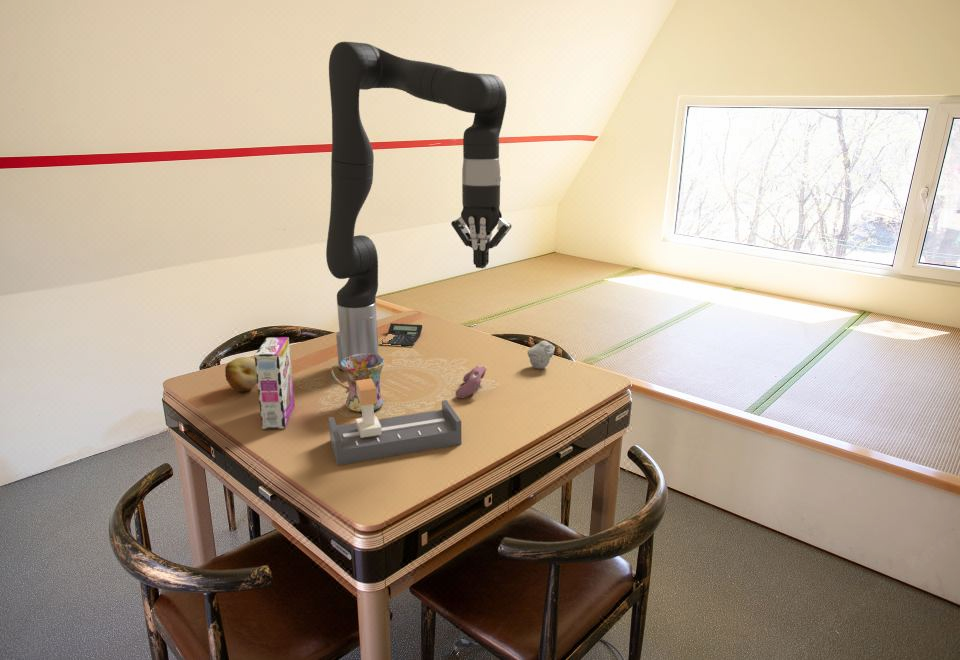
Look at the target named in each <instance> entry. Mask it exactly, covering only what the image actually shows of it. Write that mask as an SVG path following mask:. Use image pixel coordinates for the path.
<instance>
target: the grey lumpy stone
mask: <svg viewBox="0 0 960 660" xmlns="http://www.w3.org/2000/svg"><path fill="white" fill-rule="evenodd" d="M555 348H556V347H555V346H554V345H553V344H552V343H550V342H549V341H547V340H542V341H539V342H538V343H536V344H535V345H533V346H532V347H531V348H529V350H527V356H528V358H529V363H530V365H531V366H532V367H533V368H535V369H537V370H538V369H539V370H542V369H545V368H546V367H548V365H549V363H550V360H551V358H553V356H554V353H555V351H556V350H555Z"/></svg>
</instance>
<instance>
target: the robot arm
mask: <svg viewBox="0 0 960 660" xmlns="http://www.w3.org/2000/svg"><path fill="white" fill-rule="evenodd" d="M328 78H329V79H328V82H329V93H330V107H331V139H332V141H331V161H330V168H331V169H330V173H331V174H330V178H331V190H330V191H331V193H330V211H329V212H330V214H329V223H328V231H327V239H326V240H327V241H326V247H325V248H326V250H325V252H326V253H325V257H326V264H327V267H328V270H329V272H330V274H331V275H332V276H333V277H335V278H336V279H339V280H344V279H348V280H347V281H346V283H345V284H344V285H343V286H342V287H341V288H340V289H339V290H338V292H336V293H337V294H336V303H337V317H338V329H339V330H338V332H336V334H335V337H336V348H337V361H338V362H337V363H338V364H337V365H341V361H342V360H343V359H344V358H346V357H349V356H352V355H356V354H376V355H379V339H378V337H379V336H378V319H377V301H376V299H377V298H376V297H377V296H376V295H377V293H378V288H379V260H378V259H379V257H378V252H377V248H376V245H375V243H374V242H373V240H372V239H371V238H370V237H369V236H367V235H363V234H359V235H355V229H356V223H357V218H358V217H359V214H360V212H361V210H362V208H363V206H364V204H365V202H366V201H367V198H368V196H369V194H370V191H371V189H372V186H373V179H374V149H373V147H372V143H371V142H370V139H369V137H368V135H367V132H366V131H365V127H364V126H363V125H364V124H363V123H362V119H361V114H360V90H364V91H366V90H371V89H394V90H395V89H396V90H398V91H401V92H402V91H403V92H405V93H406V94H409V95H411V96H413V97H415V98H418V99H419V100H423V101H428V102H432V103H436V104H441V105H446V106H448V107H450V108H452V109H455V110H457V111H461V112H464V113H470V114H474V115H473V122H472V125H470V126H468V127H467V128H466V129H464V132H463V137H462V149H463V150H462V153H463V154H462V155H463V157H462V168H461V170H462V171H461V179H462V180H461V181H462V182H461V184H462V185H461V189H462V193H461V195H462V203H461V204H462V210H461V213H460V216H459V217H458V218H456V219H455V220H452V221H451V222H450V223H451V224H450V225H451V226H452V227H453V229H454V231H455V232H456V234H457V235H458V237H459V239H461V242H462V243H463V245H464V246H466V247H469V248H472V251H473V252H472V253H473V254H472V255H473V256H472V258H473V261H472V262H473V265H475V268H477V269H484V268H486V267H487V266H488V265H489V261H490V259H489V257H490V256H489V255H490V254H489V251H490V249H493V248H495V247H498V245H499V244H500V243H501V241H503V239H504V238H505V236H506V235H507V234H508V233H509V232H510V230H511V229H512V226H513V225H512V224H511V223H510V222H506V220H504V219H503V218H502V217H503V215H502V212H501V209H500V208H501V206H500V205H501V180H502V179H501V167H500V166H501V164H500V134H501V130H502V126H503V122H504V118H505V113H506V108H507V99H508V98H507V90H506V86H505V84H504V81H503V80H502V79H501V78H500V76H497V75H495V74H492V73H491V74H490V73H474V72H468V71H461V70H460V71H459V70H457V69H455V68H454V67H451V66H446V65H442V64H438V63H437V64H436V63H431V62H427V61H421V60H412V59H407V58H403V57H400V56H397V55H394V54H392V53H391V52H387V51H385V50H383V49H381V48H379V47H376V46H375V45H372V44H369V43H365V42H356V41H340V42H338V43H336V44H335V45H334V46H333V47H332V49H331V51H330V55H329V61H328ZM495 228H497V231H496V233H495V234H494V236H493V231H494V230H495ZM492 236H493V237H492ZM379 356H380V355H379ZM340 369H341V368H339V367H338V370H340ZM341 371H344V370H343V369H341Z"/></svg>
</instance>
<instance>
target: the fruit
mask: <svg viewBox="0 0 960 660" xmlns="http://www.w3.org/2000/svg"><path fill="white" fill-rule="evenodd" d="M224 370H225V373H224V374H225V375H224V376H225V380H226V382H228V385H229V386H230V387H231V389H233V390H234V391H237V392H241V391H242V392H248V391H249V390H252V389H253V388H254V387H256V385H258V384H257V375H256V365H255V358H254V359H253V358H252V357H249V356H241V357H236V358H235V359H233V360H231V361H229V362H228V363H227V364H226V366H225V369H224Z"/></svg>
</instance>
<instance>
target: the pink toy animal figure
mask: <svg viewBox="0 0 960 660" xmlns="http://www.w3.org/2000/svg"><path fill="white" fill-rule="evenodd" d="M487 370H488V369H487V368H486V367H485V366H483V365H479V364H477V365H476V366H475V367H474V368H472V369H471V370H470V371H469V372H468V373H466V374H465V375H464V376H463V379H462V381H463V383H464V384H463V385H461V386H459V387H458V388H457V389H456V390H455V397H456V398H458V399H463V398H467V397H469V396H471V395H473V396H474V393H475V392H476V391H477V389H479V390H480V389H482V387H483V384H482V383H481V381H482V379H483V378H484V377H485V374H486V372H487Z"/></svg>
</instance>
